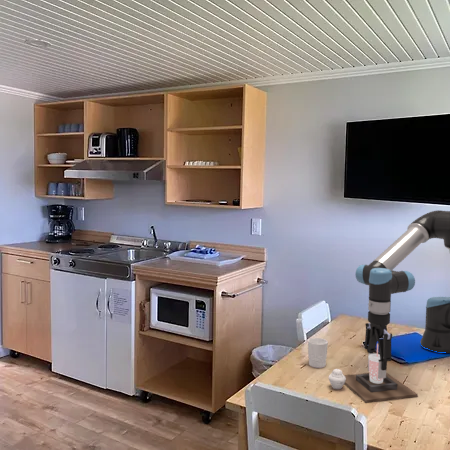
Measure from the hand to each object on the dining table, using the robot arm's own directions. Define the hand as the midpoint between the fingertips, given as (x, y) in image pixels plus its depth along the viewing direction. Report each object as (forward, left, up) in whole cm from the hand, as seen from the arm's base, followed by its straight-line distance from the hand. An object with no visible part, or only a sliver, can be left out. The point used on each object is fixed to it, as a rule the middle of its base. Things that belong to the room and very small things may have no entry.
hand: (376, 373), depth 168 cm
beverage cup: (0, 0, -3) cm, 3 cm away
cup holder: (0, 0, -5) cm, 5 cm away
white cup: (+12, -24, -5) cm, 27 cm away
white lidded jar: (+14, -3, -5) cm, 15 cm away
